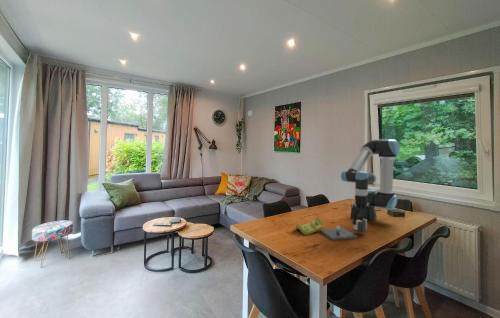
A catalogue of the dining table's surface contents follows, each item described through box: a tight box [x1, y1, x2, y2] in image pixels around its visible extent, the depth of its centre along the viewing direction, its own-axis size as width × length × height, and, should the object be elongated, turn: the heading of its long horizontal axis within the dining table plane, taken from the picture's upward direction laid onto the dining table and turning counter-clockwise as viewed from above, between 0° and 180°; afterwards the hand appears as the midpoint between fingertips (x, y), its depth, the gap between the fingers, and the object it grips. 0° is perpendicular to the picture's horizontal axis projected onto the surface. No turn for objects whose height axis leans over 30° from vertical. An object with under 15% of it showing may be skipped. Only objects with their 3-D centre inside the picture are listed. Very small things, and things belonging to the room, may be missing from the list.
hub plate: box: [319, 225, 358, 242], centre depth 149 cm, size 18×15×6 cm
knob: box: [354, 219, 367, 234], centre depth 152 cm, size 7×7×7 cm
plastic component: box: [294, 217, 325, 236], centre depth 158 cm, size 20×7×10 cm
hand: (360, 228), depth 152 cm, fingers closed on knob, 7 cm apart
